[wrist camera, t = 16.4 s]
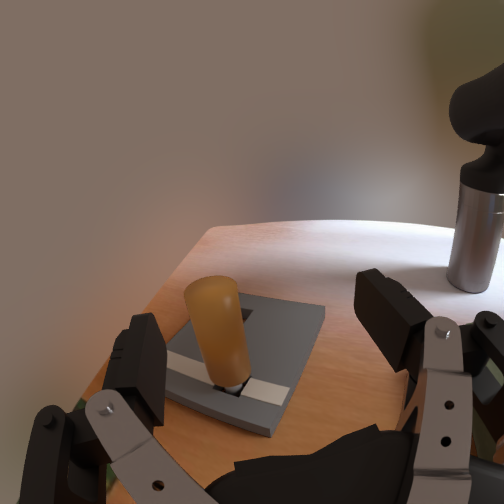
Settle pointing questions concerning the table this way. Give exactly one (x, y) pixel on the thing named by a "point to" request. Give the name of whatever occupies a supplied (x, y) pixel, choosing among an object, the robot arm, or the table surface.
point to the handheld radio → (479, 430)
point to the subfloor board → (261, 360)
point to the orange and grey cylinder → (219, 331)
